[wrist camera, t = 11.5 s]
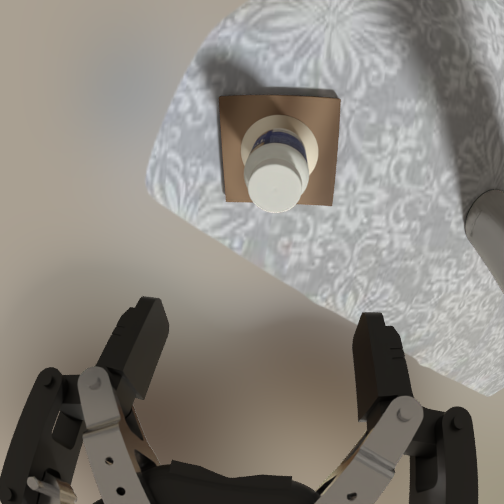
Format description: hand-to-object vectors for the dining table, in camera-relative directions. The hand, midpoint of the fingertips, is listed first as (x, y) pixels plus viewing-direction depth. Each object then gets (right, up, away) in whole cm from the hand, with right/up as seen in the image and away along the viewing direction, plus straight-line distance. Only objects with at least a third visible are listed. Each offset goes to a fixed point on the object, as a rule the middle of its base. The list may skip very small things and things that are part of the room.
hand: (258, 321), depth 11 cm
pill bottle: (+3, +13, +18) cm, 22 cm away
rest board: (+3, +14, +18) cm, 23 cm away
